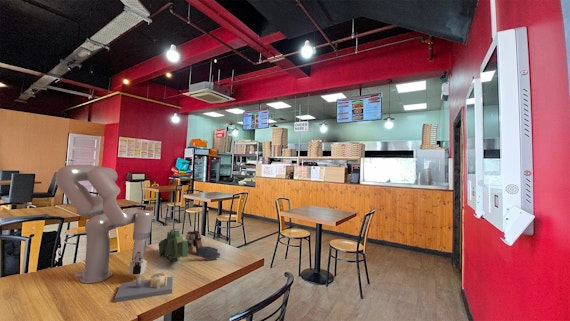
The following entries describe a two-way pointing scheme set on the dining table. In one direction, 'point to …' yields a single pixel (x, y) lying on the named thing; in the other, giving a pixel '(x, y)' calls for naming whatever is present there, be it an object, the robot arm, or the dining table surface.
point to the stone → (208, 253)
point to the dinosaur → (173, 246)
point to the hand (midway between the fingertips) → (137, 270)
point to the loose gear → (143, 267)
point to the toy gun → (194, 239)
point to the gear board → (145, 288)
